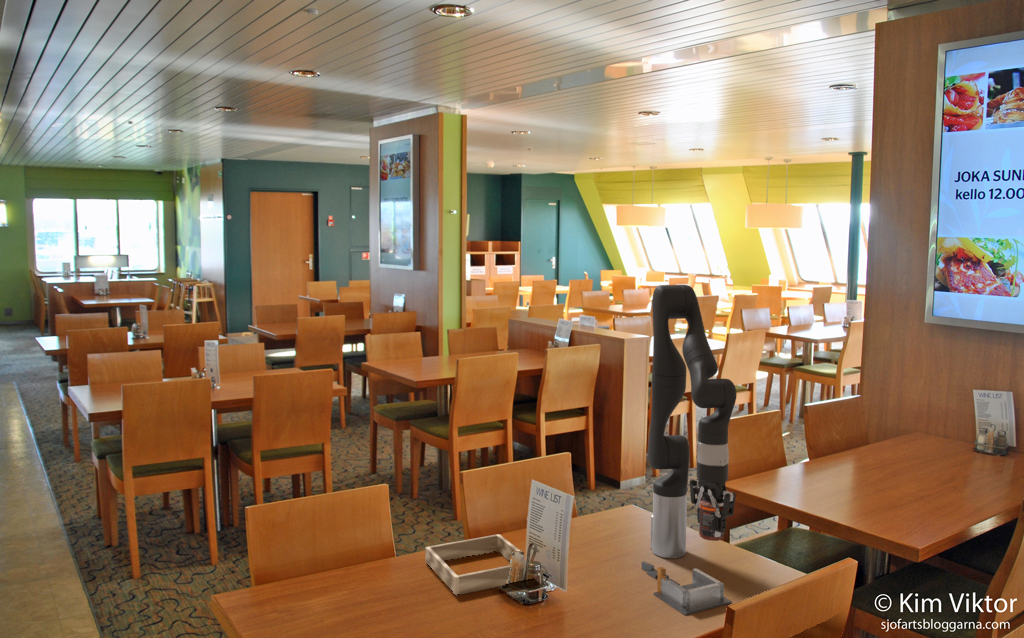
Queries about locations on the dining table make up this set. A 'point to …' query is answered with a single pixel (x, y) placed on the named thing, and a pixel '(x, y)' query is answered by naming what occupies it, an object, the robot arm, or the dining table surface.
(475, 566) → the dining table surface
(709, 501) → the supplement bottle
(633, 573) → the dining table surface
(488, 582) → the frame
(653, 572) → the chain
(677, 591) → the keeper
